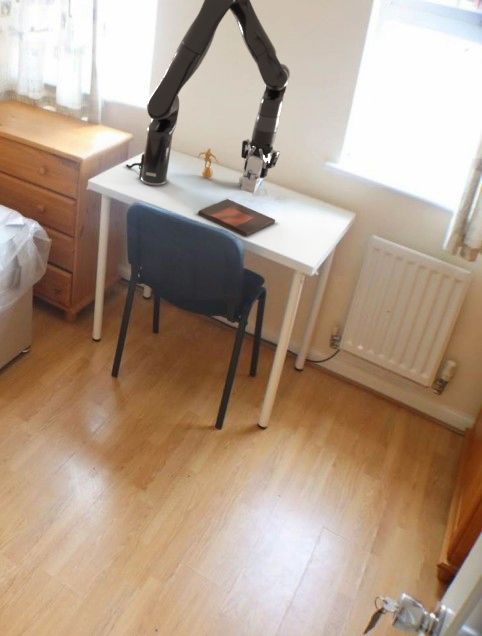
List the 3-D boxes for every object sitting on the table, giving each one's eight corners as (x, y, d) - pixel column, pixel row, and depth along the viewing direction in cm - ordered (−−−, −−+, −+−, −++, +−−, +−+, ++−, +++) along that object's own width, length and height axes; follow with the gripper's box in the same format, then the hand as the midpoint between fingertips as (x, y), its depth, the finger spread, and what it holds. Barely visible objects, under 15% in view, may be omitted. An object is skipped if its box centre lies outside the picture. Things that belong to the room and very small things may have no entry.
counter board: (197, 214, 243) (198, 210, 242) (226, 202, 252) (227, 198, 251) (245, 237, 231) (247, 232, 230) (274, 223, 240) (275, 219, 239)
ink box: (248, 182, 254) (256, 150, 247) (262, 185, 252) (270, 154, 245) (240, 190, 248) (247, 158, 241) (254, 194, 245) (261, 161, 239)
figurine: (218, 179, 269) (224, 148, 262) (211, 184, 265) (217, 153, 258) (198, 173, 272) (203, 142, 266) (191, 178, 268) (196, 147, 262)
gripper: (241, 122, 239) (231, 169, 249) (277, 136, 231) (265, 184, 240) (254, 118, 243) (244, 165, 253) (290, 131, 235) (278, 179, 245)
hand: (254, 174), depth 247 cm, fingers closed on ink box, 6 cm apart
